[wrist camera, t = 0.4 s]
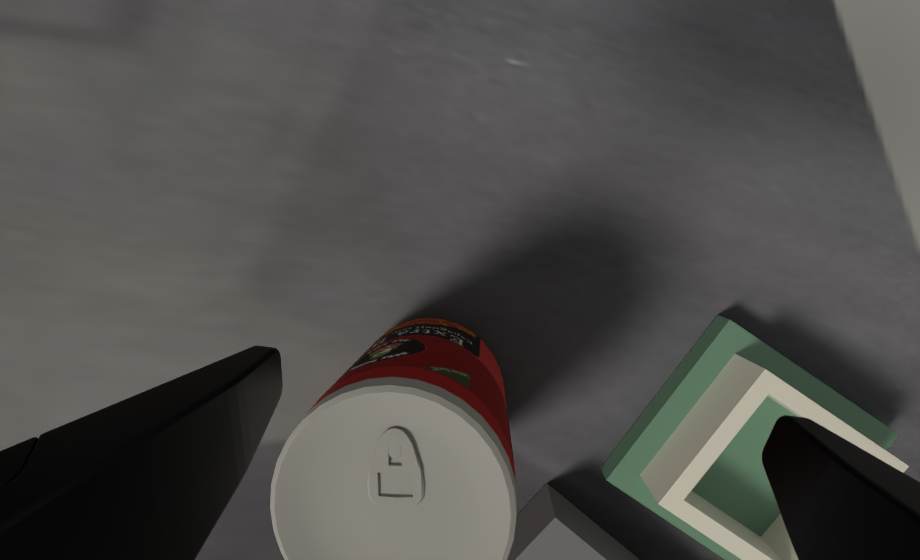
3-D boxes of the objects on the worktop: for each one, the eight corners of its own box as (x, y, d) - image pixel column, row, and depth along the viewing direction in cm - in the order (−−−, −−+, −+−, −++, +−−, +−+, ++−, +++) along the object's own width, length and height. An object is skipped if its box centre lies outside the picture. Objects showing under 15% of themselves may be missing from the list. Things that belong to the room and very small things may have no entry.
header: (754, 571, 25) (800, 630, 21) (600, 467, 25) (620, 509, 21) (878, 424, 24) (950, 460, 20) (717, 315, 24) (759, 330, 20)
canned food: (482, 298, 24) (479, 355, 13) (521, 441, 25) (549, 606, 14) (342, 334, 25) (231, 419, 14) (385, 473, 26) (310, 656, 15)
